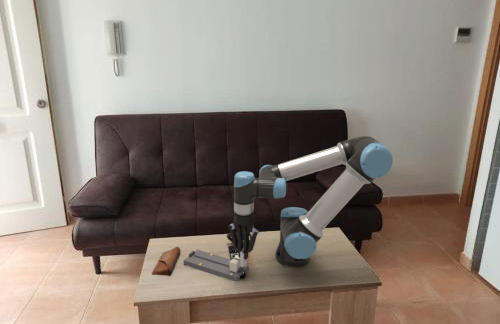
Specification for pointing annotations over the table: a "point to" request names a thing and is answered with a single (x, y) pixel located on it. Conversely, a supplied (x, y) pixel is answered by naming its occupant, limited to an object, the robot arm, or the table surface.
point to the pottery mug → (231, 238)
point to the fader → (235, 264)
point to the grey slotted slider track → (213, 264)
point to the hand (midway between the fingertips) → (243, 265)
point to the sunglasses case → (166, 262)
